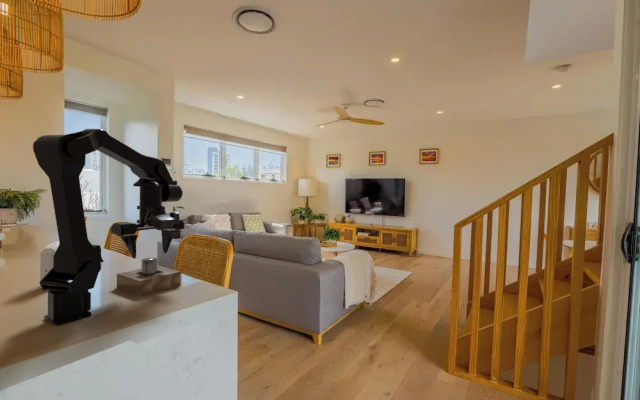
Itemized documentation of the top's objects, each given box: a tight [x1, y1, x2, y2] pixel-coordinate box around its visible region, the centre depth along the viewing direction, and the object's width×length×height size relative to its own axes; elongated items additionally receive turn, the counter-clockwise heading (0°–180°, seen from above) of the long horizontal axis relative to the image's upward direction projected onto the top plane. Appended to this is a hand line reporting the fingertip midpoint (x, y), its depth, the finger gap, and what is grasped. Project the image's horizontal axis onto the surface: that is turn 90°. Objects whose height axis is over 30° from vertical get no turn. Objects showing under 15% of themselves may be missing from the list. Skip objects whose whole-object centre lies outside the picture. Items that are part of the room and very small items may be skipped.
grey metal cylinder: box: [141, 257, 158, 276], centre depth 89 cm, size 4×4×8 cm
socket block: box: [116, 265, 182, 297], centre depth 89 cm, size 12×12×4 cm
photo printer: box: [39, 240, 59, 288], centre depth 89 cm, size 10×4×12 cm, turn 17°
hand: (150, 255), depth 89 cm, fingers open, 9 cm apart
